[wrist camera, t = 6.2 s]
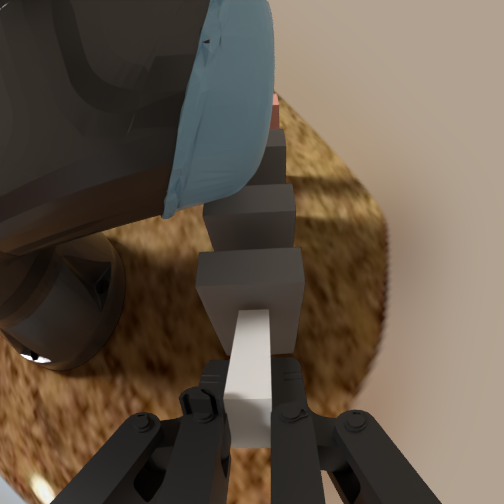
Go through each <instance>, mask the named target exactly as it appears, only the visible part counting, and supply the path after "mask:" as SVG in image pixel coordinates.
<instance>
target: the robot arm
mask: <svg viewBox="0 0 504 504" xmlns="http://www.w3.org/2000/svg"><path fill="white" fill-rule="evenodd" d="M274 60H275V59H274V31H273V20H272V13H271V9H270V5H269V3H268V2H267V0H0V334H1V335H2V336H3V337H4V338H5V339H6V340H7V341H8V342H9V343H10V345H11V346H12V347H13V348H14V349H15V350H16V351H17V352H18V353H19V354H20V355H21V356H23V357H24V358H25V359H27V360H28V361H30V362H32V363H34V364H36V365H39V366H42V367H45V368H47V369H51V370H59V371H61V370H69V369H72V368H75V367H78V366H80V365H82V364H83V363H85V362H87V361H88V360H89V359H91V358H92V357H93V356H94V355H95V354H96V353H97V352H98V351H99V350H100V349H101V348H102V347H103V346H104V344H105V343H106V342H107V340H108V339H109V337H110V336H111V334H112V332H113V330H114V328H115V326H116V324H117V322H118V319H119V317H120V314H121V311H122V307H123V303H124V297H125V285H126V283H125V271H124V267H123V263H122V260H121V258H120V256H119V254H118V252H117V250H116V249H115V248H114V246H113V245H112V244H111V243H110V242H109V240H108V239H107V238H106V237H105V235H104V234H103V233H101V231H105V230H108V229H112V228H115V227H119V226H122V225H126V224H129V223H133V222H136V221H140V220H144V219H147V218H151V217H155V216H159V215H161V218H162V219H169V218H171V217H172V216H173V215H175V213H176V212H177V211H179V210H183V209H186V208H190V207H193V206H197V205H200V204H204V203H207V202H211V201H214V200H218V199H222V198H225V197H228V196H231V195H233V194H235V193H236V192H238V191H240V190H241V189H242V188H243V187H244V186H245V185H246V183H247V182H248V181H249V180H250V179H251V178H252V176H253V175H254V174H255V172H256V171H257V169H258V167H259V165H260V163H261V160H262V157H263V154H264V151H265V147H266V144H267V139H268V134H269V128H270V122H271V115H272V106H273V93H274V68H275V61H274ZM179 401H180V404H181V408H182V411H183V416H182V417H179V418H176V419H171V420H163V421H160V420H159V418H158V417H157V416H156V415H154V414H152V413H147V412H142V413H136V414H134V415H131V416H130V417H129V418H128V419H126V420H125V422H124V423H123V424H122V425H121V426H120V427H119V428H118V429H117V431H116V432H115V433H114V434H113V435H112V436H111V437H110V438H109V440H108V441H107V442H106V443H105V444H104V445H103V446H102V447H101V448H100V450H99V451H98V452H97V453H96V454H95V455H94V456H93V457H92V458H91V459H90V461H89V462H88V463H87V464H86V465H85V466H84V467H83V468H82V469H81V471H80V472H79V473H78V474H77V475H76V476H75V477H74V478H73V479H72V480H71V481H70V483H69V484H68V485H67V486H66V487H65V488H64V489H63V490H62V491H61V492H60V493H59V494H58V496H57V497H56V498H55V499H54V500H53V501H52V502H51V503H50V504H226V501H227V492H228V483H229V475H230V466H231V455H230V446H231V445H232V448H271V504H325V497H324V490H323V483H322V476H321V470H325V471H327V473H328V475H329V477H330V479H331V481H332V483H333V484H334V486H335V488H336V490H337V492H338V494H339V496H340V498H341V500H342V501H343V503H344V504H442V503H441V502H440V501H439V500H438V498H437V497H436V496H435V495H434V493H433V492H432V491H431V490H430V488H429V487H428V486H427V484H426V483H425V482H424V481H423V479H422V478H421V477H420V476H419V475H418V473H417V472H416V471H415V469H414V468H413V467H412V465H411V464H410V463H409V462H408V460H407V459H406V458H405V457H404V455H403V454H402V453H401V452H400V450H399V449H398V448H397V446H396V445H395V444H394V443H393V441H392V440H391V439H390V438H389V436H388V435H387V434H386V433H385V431H384V430H383V429H382V427H381V426H380V425H379V424H378V423H377V421H376V420H375V419H374V417H373V416H372V415H370V414H369V413H368V412H364V411H362V410H349V411H346V412H344V413H342V414H340V415H339V416H338V417H337V418H328V417H323V416H320V415H317V414H315V413H314V412H312V411H311V410H310V408H309V407H308V404H307V400H306V394H305V388H304V382H303V376H302V371H301V365H300V363H299V362H298V361H297V360H296V358H295V357H284V358H271V353H270V326H269V309H260V310H239V313H238V319H237V324H236V330H235V336H234V341H233V347H232V352H231V358H230V360H210V361H209V362H208V363H207V364H206V365H205V366H204V369H203V373H202V376H201V379H200V383H199V386H197V387H192V388H189V389H187V390H185V391H184V392H182V393H181V395H180V396H179Z"/></svg>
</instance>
